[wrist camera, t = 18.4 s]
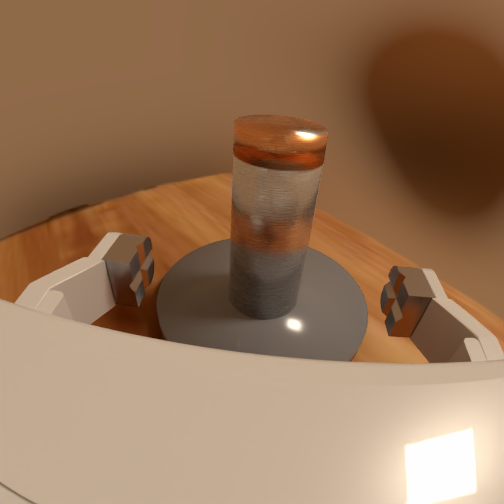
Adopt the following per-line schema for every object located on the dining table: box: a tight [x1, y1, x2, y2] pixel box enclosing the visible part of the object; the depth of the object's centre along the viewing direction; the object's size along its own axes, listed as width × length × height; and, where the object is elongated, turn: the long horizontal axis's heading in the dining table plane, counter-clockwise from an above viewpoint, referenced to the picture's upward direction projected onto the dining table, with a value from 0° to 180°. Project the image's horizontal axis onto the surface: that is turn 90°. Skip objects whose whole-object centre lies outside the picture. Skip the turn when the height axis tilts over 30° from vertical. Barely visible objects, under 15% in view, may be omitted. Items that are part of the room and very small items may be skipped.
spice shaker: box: [229, 115, 329, 320], centre depth 18 cm, size 5×5×11 cm
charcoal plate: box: [157, 239, 368, 362], centre depth 21 cm, size 14×14×1 cm
